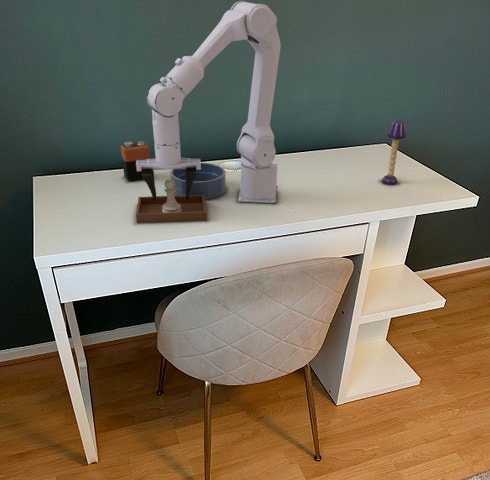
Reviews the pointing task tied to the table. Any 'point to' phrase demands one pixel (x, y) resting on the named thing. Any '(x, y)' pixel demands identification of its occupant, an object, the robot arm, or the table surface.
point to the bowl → (201, 181)
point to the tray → (153, 212)
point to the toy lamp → (394, 149)
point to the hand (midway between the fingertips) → (171, 198)
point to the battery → (133, 159)
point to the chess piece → (170, 198)
